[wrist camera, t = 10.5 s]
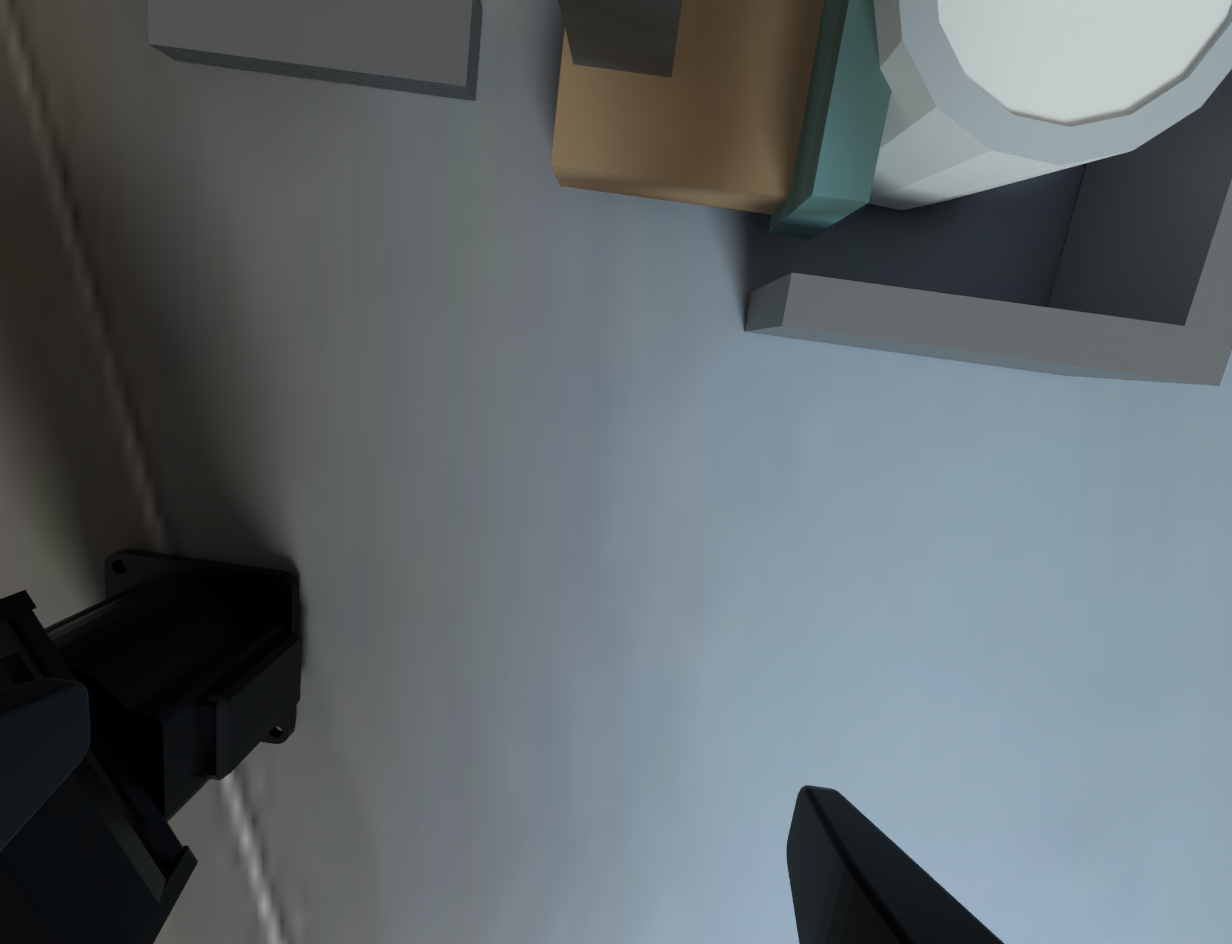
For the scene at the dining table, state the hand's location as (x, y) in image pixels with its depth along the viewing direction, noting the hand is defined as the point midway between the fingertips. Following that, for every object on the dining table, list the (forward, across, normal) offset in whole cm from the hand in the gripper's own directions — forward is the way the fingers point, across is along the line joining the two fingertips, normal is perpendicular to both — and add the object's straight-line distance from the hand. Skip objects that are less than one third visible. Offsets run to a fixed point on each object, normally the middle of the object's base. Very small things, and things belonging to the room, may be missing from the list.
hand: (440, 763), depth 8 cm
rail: (+13, +8, -13) cm, 20 cm away
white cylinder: (+13, -9, -13) cm, 21 cm away
